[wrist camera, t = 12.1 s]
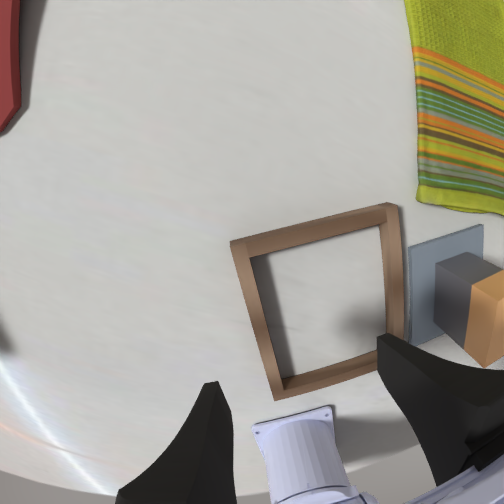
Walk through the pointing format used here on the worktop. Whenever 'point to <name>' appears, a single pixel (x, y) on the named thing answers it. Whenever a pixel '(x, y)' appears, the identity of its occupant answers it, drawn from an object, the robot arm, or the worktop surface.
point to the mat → (424, 277)
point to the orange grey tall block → (471, 305)
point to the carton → (9, 61)
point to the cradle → (307, 233)
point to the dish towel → (459, 102)
